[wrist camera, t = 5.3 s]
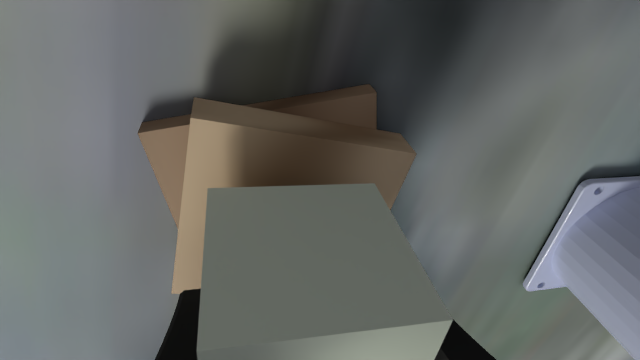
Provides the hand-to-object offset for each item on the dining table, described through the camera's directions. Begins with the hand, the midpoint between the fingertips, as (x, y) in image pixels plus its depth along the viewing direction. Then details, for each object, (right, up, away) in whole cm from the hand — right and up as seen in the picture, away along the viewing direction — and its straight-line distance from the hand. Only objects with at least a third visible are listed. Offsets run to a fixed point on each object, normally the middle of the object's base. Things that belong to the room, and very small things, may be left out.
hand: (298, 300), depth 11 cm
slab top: (-1, +3, +4) cm, 5 cm away
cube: (0, +1, +1) cm, 2 cm away
